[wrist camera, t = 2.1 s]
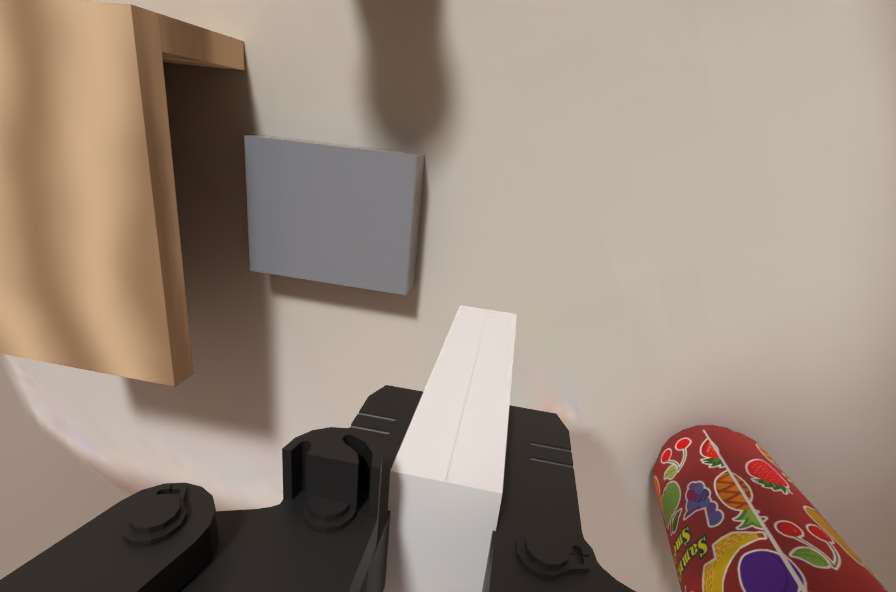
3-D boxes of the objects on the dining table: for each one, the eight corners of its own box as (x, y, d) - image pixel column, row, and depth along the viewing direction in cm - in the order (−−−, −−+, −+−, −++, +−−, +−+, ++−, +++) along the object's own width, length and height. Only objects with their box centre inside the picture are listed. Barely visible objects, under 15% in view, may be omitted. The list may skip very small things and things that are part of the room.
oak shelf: (243, 41, 27) (130, 4, 19) (256, 329, 33) (174, 386, 25) (58, 24, 28) (-114, -15, 21) (103, 303, 34) (-16, 350, 27)
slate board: (426, 154, 27) (416, 155, 25) (415, 282, 30) (405, 295, 28) (267, 135, 29) (244, 135, 26) (270, 260, 31) (249, 270, 29)
